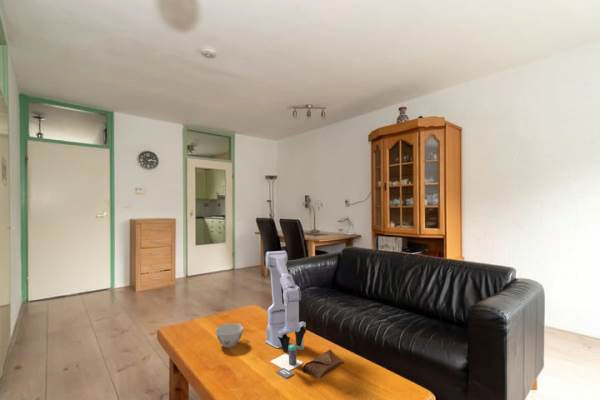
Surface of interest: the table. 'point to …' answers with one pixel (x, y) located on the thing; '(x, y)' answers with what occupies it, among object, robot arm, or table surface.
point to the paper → (285, 362)
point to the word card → (284, 373)
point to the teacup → (229, 334)
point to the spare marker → (301, 345)
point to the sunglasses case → (322, 364)
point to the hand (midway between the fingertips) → (292, 348)
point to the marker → (292, 354)
